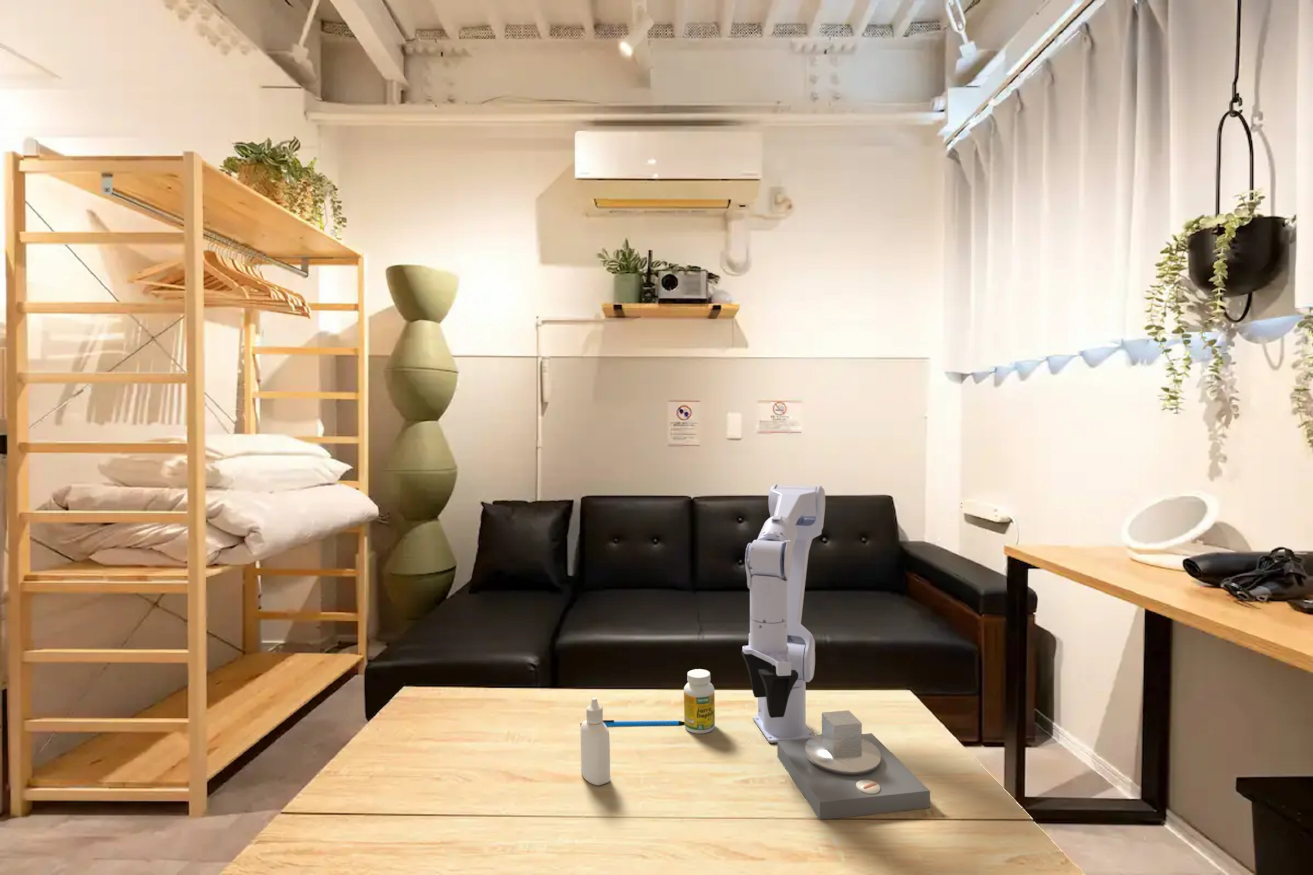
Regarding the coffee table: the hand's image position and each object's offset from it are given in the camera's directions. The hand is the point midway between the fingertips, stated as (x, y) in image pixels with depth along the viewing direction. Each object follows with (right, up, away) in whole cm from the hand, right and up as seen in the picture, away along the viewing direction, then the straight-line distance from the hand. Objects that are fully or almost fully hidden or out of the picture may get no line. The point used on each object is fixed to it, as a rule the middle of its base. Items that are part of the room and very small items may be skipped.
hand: (768, 705), depth 104 cm
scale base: (+11, -9, -3) cm, 15 cm away
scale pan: (+11, -7, -2) cm, 13 cm away
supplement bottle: (-10, -9, +13) cm, 19 cm away
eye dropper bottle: (-26, -10, -2) cm, 28 cm away
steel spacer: (+11, -6, -2) cm, 12 cm away
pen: (-21, -10, +15) cm, 28 cm away
